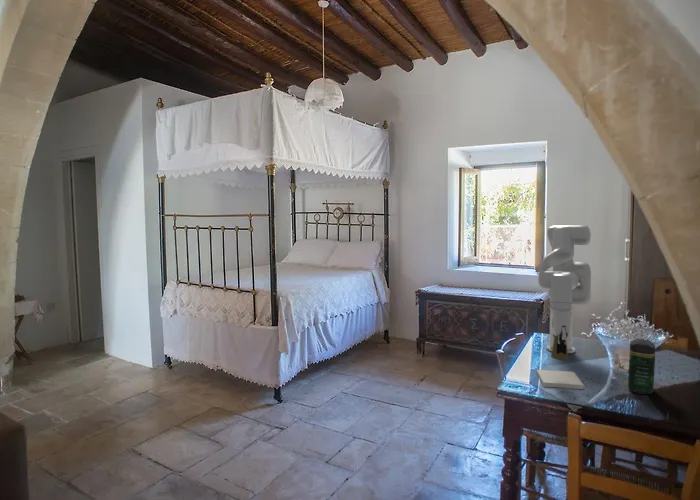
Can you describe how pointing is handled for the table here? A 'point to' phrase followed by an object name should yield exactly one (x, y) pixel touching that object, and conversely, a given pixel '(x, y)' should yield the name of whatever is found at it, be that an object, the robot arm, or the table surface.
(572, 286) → the robot arm
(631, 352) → the coffee jar
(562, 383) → the tile
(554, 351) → the cork
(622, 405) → the table surface
